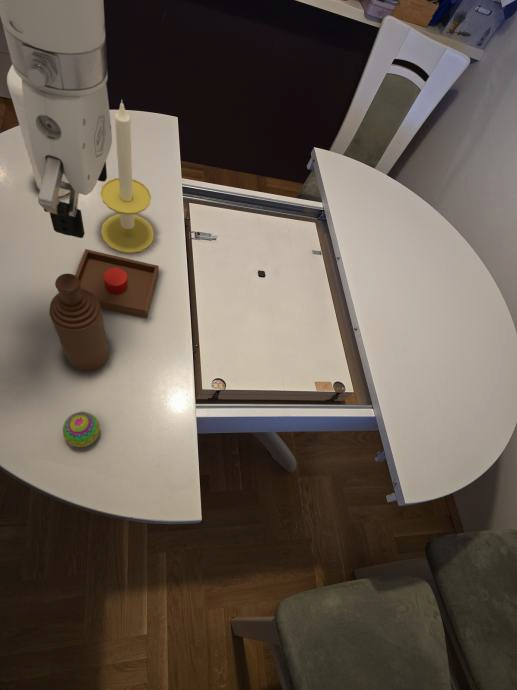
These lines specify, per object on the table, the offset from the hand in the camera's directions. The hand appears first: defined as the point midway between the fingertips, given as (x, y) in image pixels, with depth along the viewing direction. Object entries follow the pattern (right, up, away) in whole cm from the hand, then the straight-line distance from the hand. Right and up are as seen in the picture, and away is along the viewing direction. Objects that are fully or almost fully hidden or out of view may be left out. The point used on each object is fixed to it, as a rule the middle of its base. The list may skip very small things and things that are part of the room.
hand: (82, 204), depth 47 cm
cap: (-4, -6, +23) cm, 25 cm away
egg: (-5, -31, +12) cm, 33 cm away
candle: (-5, +5, +30) cm, 31 cm away
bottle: (-7, -19, +17) cm, 26 cm away
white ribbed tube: (-18, +15, +31) cm, 39 cm away
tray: (-5, -7, +24) cm, 25 cm away
